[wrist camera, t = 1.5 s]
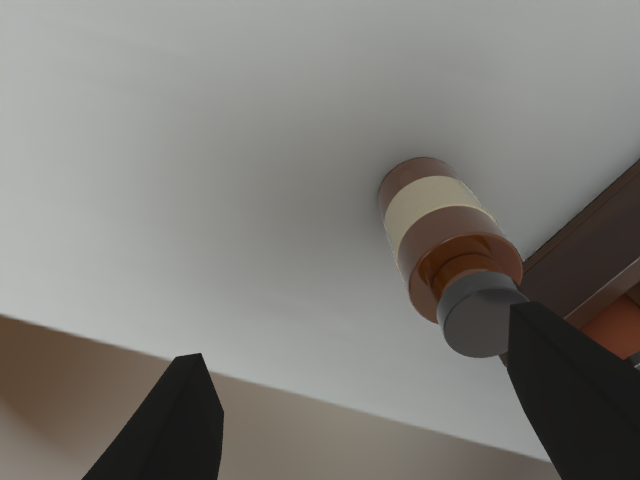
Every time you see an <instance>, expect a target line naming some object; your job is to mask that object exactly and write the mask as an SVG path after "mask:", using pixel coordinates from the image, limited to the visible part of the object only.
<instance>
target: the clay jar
mask: <svg viewBox="0 0 640 480" xmlns="http://www.w3.org/2000/svg"><path fill="white" fill-rule="evenodd" d="M578 330H580V331H581V332H583V333H584V334H585V335H587V336H588V337H590V338H591V339H593V340H594V341H596V342H597V343H598V344H600V345H601V346H603V347H604V348H606V349H607V350H609V351H610V352H612V353H613V354H615V355H616V356H618V357H619V358H621V359H622V360H624V361H626V362H627V363H629V364H630V365H632V366H633V367H635V368H637V369H638V370H640V305H639V304H638V303H637V302H636V301H634V300H633V299H632V298H631V297H630V296H629V295H628V294H627V293H626V292H625V293H624V294H622V295H621V296H620V297H619V298H617V299H616V300H615V301H613V302H612V303H611V304H610V305H608V306H607V307H606V308H604V309H603V310H602V311H601V312H599V313H598V314H597V315H596V316H594V317H593V318H592V319H590V320H589V321H588V322H587V323H585V324H584V325H583V326H582V327H580V328H579V329H578Z"/></svg>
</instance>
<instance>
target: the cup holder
mask: <svg viewBox="0 0 640 480" xmlns="http://www.w3.org/2000/svg"><path fill="white" fill-rule="evenodd" d="M522 266H523V276H522V281H521V284H520V287H521V289H522V290H523V292H524V293H525V294H526V296H527V297H528V299H529V300H530V302H531V301H538V302H540V303H541V304H543V305H544V306H546V307H547V308H549V309H550V310H551V311H553V312H554V313H556V314H557V315H559V316H560V317H561V318H563V319H564V320H566V321H567V322H568V323H570V324H571V325H573V326H574V327H575V328H577V329H579V328H580V327H582V326H583V325H584V324H585V323H587V322H588V321H589V320H590V319H592V318H593V317H594V316H596V315H597V314H598V313H599V312H601V311H602V310H603V309H604V308H606V307H607V306H608V305H610V304H611V303H612V302H613V301H615V300H616V299H617V298H619V297H620V296H621V295H622V294H624V293H625V292H626V293H627V294H628V295H629V296H630V297H631V298H632V299H633V300H634V301H636V302H637V303H638V304H639V305H640V160H639V161H638V162H637V163H636V164H635V165H634V166H633V167H631V168H630V169H629V170H628V171H627V172H626V173H625V174H624V175H622V176H621V177H620V178H619V179H618V180H617V181H616V182H615V183H614V184H612V185H611V186H610V187H609V188H608V189H607V190H606V191H605V192H603V193H602V194H601V195H600V196H599V197H598V198H597V199H596V200H595V201H593V202H592V203H591V204H590V205H589V206H588V207H587V208H586V209H584V210H583V211H582V212H581V213H580V214H579V215H578V216H577V217H575V218H574V219H573V220H572V221H571V222H570V223H569V224H568V225H567V226H565V227H564V228H563V229H562V230H561V231H560V232H559V233H558V234H556V235H555V236H554V237H553V238H552V239H551V240H550V241H549V242H548V243H546V244H545V245H544V246H543V247H542V248H541V249H540V250H539V251H537V252H536V253H535V254H534V255H533V256H532V257H531V258H530V259H528V260H527V261H526V262H525V263H524V264H523V265H522ZM499 357H500V359H501V360H502V362H503V364H504V366H505V367H507V359H508V351H506V352H504V353H502V354H499Z"/></svg>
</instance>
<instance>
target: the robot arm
mask: <svg viewBox="0 0 640 480" xmlns="http://www.w3.org/2000/svg"><path fill="white" fill-rule="evenodd" d="M507 371H508V374H509V376H510V379H511V381H512V384H513V386H514V389H515V391H516V394H517V396H518V398H519V401H520V403H521V406H522V408H523V410H524V412H525V414H526V416H527V418H528V420H529V421H530V423H531V425H532V427H533V429H534V430H535V432H536V434H537V436H538V438H539V440H540V441H541V443H542V445H543V447H544V448H545V450H546V452H547V454H548V456H549V457H550V459H551V461H552V463H553V464H554V466H555V468H556V470H557V472H558V473H559V475H560V477H561V479H562V480H640V370H638V369H637V368H635V367H633V366H632V365H630V364H629V363H627V362H626V361H624V360H622V359H621V358H619V357H618V356H616V355H615V354H613V353H612V352H610V351H609V350H607V349H606V348H604V347H603V346H601V345H600V344H598V343H597V342H596V341H594V340H593V339H591V338H590V337H588V336H587V335H585V334H584V333H583V332H581V331H580V330H578V329H577V328H575V327H574V326H573V325H571V324H570V323H568V322H567V321H566V320H564V319H563V318H561V317H560V316H559V315H557V314H556V313H554V312H553V311H551V310H550V309H549V308H547V307H546V306H544V305H543V304H541V303H540V302H538V301H531V302H525V303H518V304H512V305H510V317H509V338H508V359H507ZM223 421H224V411H223V408H222V406H221V404H220V401H219V398H218V396H217V393H216V390H215V388H214V385H213V383H212V380H211V377H210V375H209V372H208V370H207V367H206V364H205V362H204V359H203V357H202V354H201V353H197V354H191V355H184V356H178V357H175V359H174V360H173V361H172V363H171V364H170V365H169V367H168V368H167V369H166V371H165V372H164V374H163V375H162V376H161V378H160V379H159V380H158V382H157V383H156V385H155V386H154V387H153V389H152V390H151V391H150V393H149V394H148V396H147V397H146V398H145V400H144V401H143V402H142V404H141V405H140V406H139V408H138V409H137V411H136V412H135V413H134V414H133V416H132V417H131V418H130V420H129V421H128V422H127V424H126V425H125V426H124V428H123V429H122V431H121V432H120V433H119V434H118V436H117V437H116V438H115V439H114V441H113V442H112V443H111V444H110V446H109V447H108V448H107V449H106V451H105V452H104V453H103V454H102V455H101V457H100V458H99V459H98V460H97V462H96V463H95V464H94V465H93V467H92V468H91V469H90V470H89V471H88V473H87V474H86V475H85V476H84V477H83V478H82V480H217V477H218V472H219V466H220V460H221V454H222V453H221V452H222V439H223Z"/></svg>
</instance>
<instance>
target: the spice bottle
mask: <svg viewBox="0 0 640 480" xmlns="http://www.w3.org/2000/svg"><path fill="white" fill-rule="evenodd" d="M378 209H379V212H380V215H381V218H382V221H383V224H384V227H385V233H386V236H387V239H388V242H389V245H390V248H391V251H392V254H393V256H394V259H395V262H396V265H397V268H398V271H399V273H400V275H401V276H402V278H403V281H404V284H405V287H406V289H407V292H408V295H409V298H410V301H411V303H412V305H413V306H414V308H415V309H416V311H417V312H418V313H419V314H420V315H422V316H423V317H424V318H426V319H427V320H429V321H431V322H433V323H436V324H439V326H440V328H441V330H442V333H443V335H444V338H445V340H446V342H447V343H448V345H449V346H450V347H451V348H452V349H453V350H455V351H456V352H458V353H460V354H462V355H464V356H468V357H474V358H485V357H492V356H496V355H499V354H502V353H504V352H506V351H508V338H509V317H510V305H512V304H518V303H525V302H530V300H529V299H528V297H527V296H526V294H525V293H524V292H523V290H522V289H521V287H520V284H521V281H522V276H523V266H522V260H521V257H520V255H519V253H518V251H517V249H516V248H515V247H514V246H513V244H512V243H511V242H510V241H509V239H508V238H507V237H506V236H505V234H504V233H503V232H502V231H501V229H500V228H499V226H498V224H497V222H496V221H495V219H494V218H493V217H492V216H491V214H490V213H489V212H488V211H487V209H486V208H485V207H484V206H483V204H482V203H481V202H480V201H479V199H478V198H477V197H476V196H475V195H474V193H473V192H472V191H471V190H470V188H469V187H467V186H466V185H465V184H464V183H463V182H462V181H461V179H460V178H459V177H458V175H457V174H456V173H455V172H454V170H453V169H452V168H451V167H450V166H448V165H447V164H445V163H444V162H442V161H439V160H436V159H432V158H417V159H412V160H409V161H406V162H404V163H402V164H400V165H399V166H397V167H396V168H394V169H393V170H392V171H391V172H390V173H389V174H388V175H387V176H386V178H385V179H384V181H383V182H382V184H381V187H380V189H379V193H378Z"/></svg>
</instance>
